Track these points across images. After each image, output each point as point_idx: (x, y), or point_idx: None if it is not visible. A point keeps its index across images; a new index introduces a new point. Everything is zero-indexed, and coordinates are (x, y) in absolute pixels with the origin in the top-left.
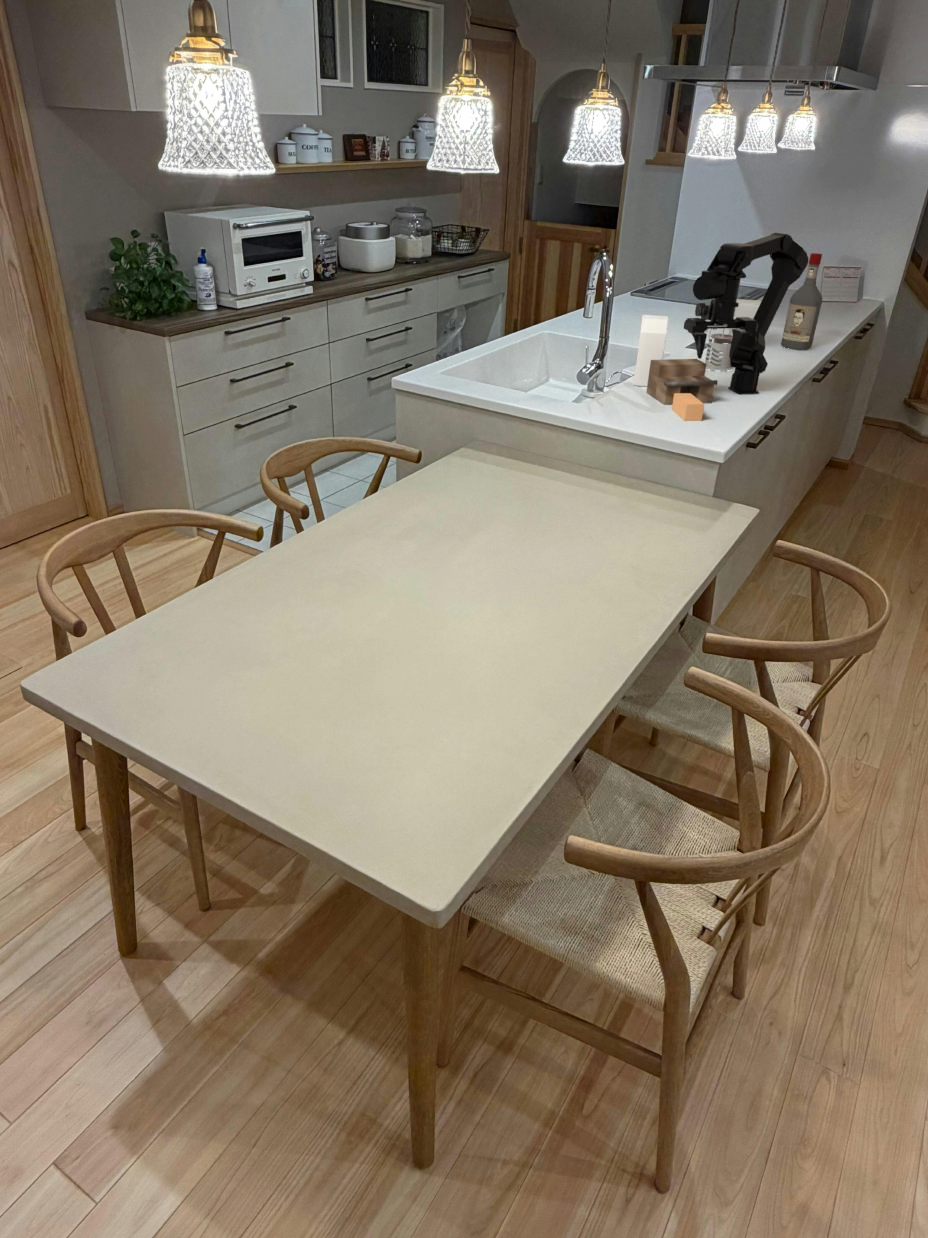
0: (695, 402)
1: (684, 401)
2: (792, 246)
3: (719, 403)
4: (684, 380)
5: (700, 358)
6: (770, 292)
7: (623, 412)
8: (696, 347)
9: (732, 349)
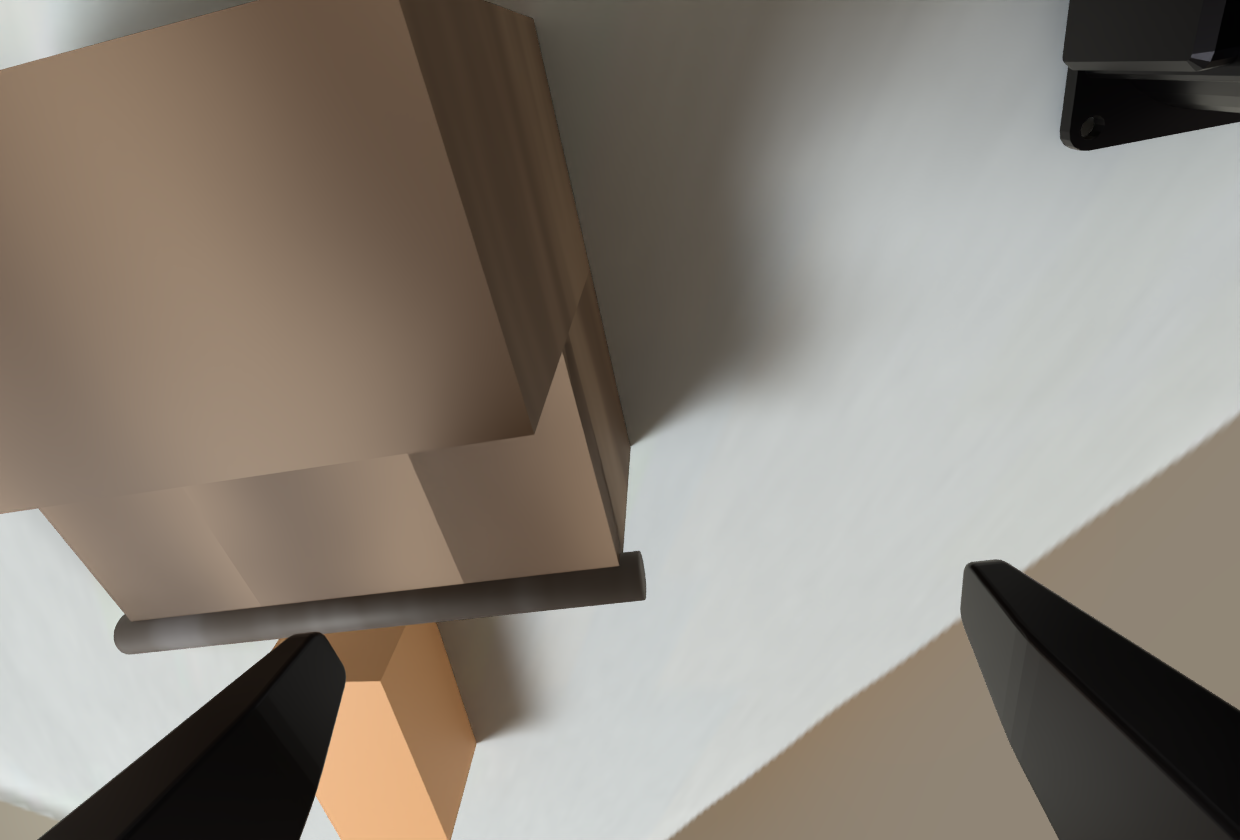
0: (398, 821)
1: (329, 807)
2: None
3: (700, 456)
4: (296, 552)
5: (338, 680)
6: None
7: (29, 639)
8: (96, 821)
9: (1060, 774)
